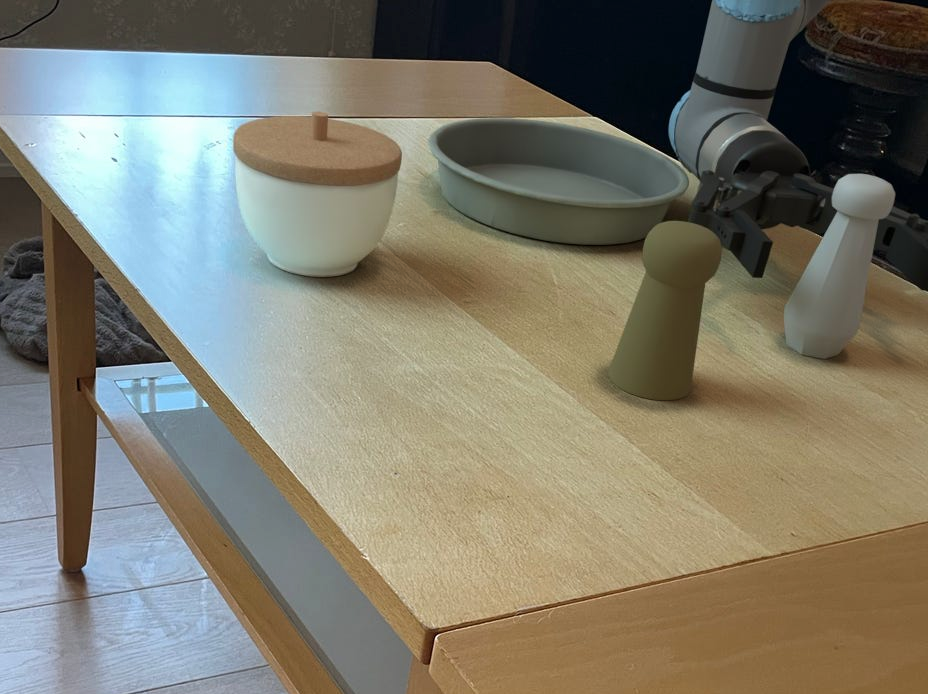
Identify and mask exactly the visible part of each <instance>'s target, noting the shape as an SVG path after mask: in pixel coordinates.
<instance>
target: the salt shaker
mask: <svg viewBox="0 0 928 694" xmlns="http://www.w3.org/2000/svg"><path fill="white" fill-rule="evenodd" d="M833 189H834V191H833V195H832V206H833V207H834V208H835V209H836V210H837V213H836V215H835V217H834V219H833V220H832V222H831V224H830V226H829V228H828V230H827V231H826V232H825V233H824V235H823V236H822V239H821V240H820V242H819V244H818V247H817V248H816V249H815V251H814V253H813V255H812V257H811V258H810V261H809V262H808V264H807V265H806V268H805V270H804V272H803V273H802V275H801V277H800V278H799V281H798V283H797V284H796V286H795V288H794V290H793V291H792V293H791V295H790V297H789V299H788V301H787V302H786V303H785V306H784V308H783V309H784V310H783V327H784V336H785V337H784V338H785V344H786V346H788V347H789V348H790V349H793V350H794V351H796V352H797V353H798V354H800V355H801V356H807V357H811V358H816V359H821V360H826V359H829V358H832V357H836V356H838V355H839V354H841V352H842V351H843V350H844V348H845V347H846V346H847V345H848V344H849V343H850V342H851V341H852V339H853V338H854V337H855V336H856V335H857V333H858V331H859V329H860V325H861V320H862V316H863V315H862V314H863V309H864V303H865V297H866V292H867V286H868V281H869V276H870V270H871V264H872V259H873V258H872V257H873V253H874V249H875V248H874V243H875V237H876V232H877V226H878V221H879V219H883V218H885V217H887V216H888V214H889V213H890V211H891V209H892V206H894V204H895V198H896V191H895V190H894V187H893V185H892V184H891V183H890V182H888V181H886V180H885V179H883V178H880V177H878V176H876V175H871V174H865V173H848V174H845V175H844V176H843V177H841V178H839V179H838V180H837V181H836V184H835V185H834V188H833Z"/></svg>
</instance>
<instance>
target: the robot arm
mask: <svg viewBox="0 0 928 694" xmlns="http://www.w3.org/2000/svg"><path fill="white" fill-rule="evenodd" d="M831 1H832V0H711V5H710V9H709V12H708V16H707V17H708V18H707V23H706V26H705V30H704V35H703V40H702V44H701V47H700V48H701V49H700V52H699V53H700V54H699V57H698V62H697V66H696V70H695V73H694V77H693V80H692V83H691V87H690V90H688V91H687V92H685V93H684V95H682V96H681V98H680V100H679V101H678V102H677V103H676V105H675V106H674V108H673V109H672V112H671V115H670V117H669V123H668V139H669V141H670V142H669V143H670V145H671V147H672V149H673V152H674V153H675V154H676V157H677V158H678V162H679V163H680V164H681V166H683V168H684V169H685V170H686V171H688V173H689V174H692V175H693V176H695V177H696V179H698V180H699V183H698V187H697V191H696V194H695V197H694V198H693V199H692V202H691V205H690V210H689V214H688V218H687V221H686V222H689V223H694V224H697V225H700V226H703V227H705V228H707V229H709V230H711V231H712V232H713V233H714V234H715V235H716V236H717V237H718V238H719V240H720V243H721V249H722V247H723V248H724V249H725V250H726V251H730V252H731V254H732V255H733V256H734V258H736V260H737V261H738V262H739V263H740V264H741V266H742V267H743V268H744V269H745V270H746V272H747V273H748V274H749V275H750V276H751V278H753V279H763V277H764V274H765V271H766V267H767V264H768V260H769V257H770V254H771V251H772V248H773V244H774V241H773V240H772V239H771V238H770V237H769V235H767V234H766V232H765V231H764V230H768V229H772V228H775V227H778V226H779V225H784V226H786V227H790V228H794V227H798V228H801V229H803V230H807V231H808V232H809V231H810V232H812V233H815V234H817V235H822V234H825V233H826V231H827V230H828V228H829V226H830V224H831V222H832V220H833V219H834V217H835V215H836V213H837V210H836V209H835V208H834V207H833V206H832V195H833V191H834V188H833V187H830V186H827V185H825V184H823V183H819V182H817V181H816V180H815V178H813V177H812V175H811V169H810V165H809V161H808V159H807V158H806V156H805V154H804V153H803V152H802V150H801V149H800V148H799V147H798V146H796V145H795V144H794V143H793V142H792V141H791V140H789V138H787V136H785V135H784V134H783V133H782V132H781V131H779V130H778V129H777V128H776V127H775V126H774V125H772V124H771V123H770V122H769V121H768V118H769V115H770V111H771V106H772V104H773V100H774V96H775V94H776V90H777V85H778V81H779V78H780V75H781V72H782V68H783V65H784V62H785V59H786V55H787V51H788V48H789V45H790V43H791V42H792V41H793V40H794V38H796V36H798V35H799V33H800V32H802V31H803V30H804V29H805V28H806V27H807V25H808V24H809V23H810V22H811V21H812V20H813V19H814V18H815V17H816V16H817V15H818V14H819V13H820V12H821V11H822V10H823V9H824V8H825V7H826V6H827V5H828V4H829V3H830V2H831ZM818 214H820V216H819V219H818V221H815V220H813V219H815V217H816V216H817V215H818ZM873 249H875V250H879V251H882V252H884V253H886V255H885V259H886V260H887V261H888V262H890V264H892V265H893V266H894V267H895V268H896V269H897V270H898V271H899V272H900V273H901V274H902V275H904V277H906V278H907V279H908V280H909V281H910V282H911V283H912V284H914V285H915V286H916V287H917V288H918V289H919V290H920V291H925V292H928V220H927V219H923V218H921V217H920V215H919V214H918V213H909V212H907V211H905V210H902V209H900V208H898V207H895V206H894V205H893V206H892V209H891V211H890V213H889V214H888V216H887V217H885V218H883V219H879V221H878V226H877V232H876V237H875V243H874V248H873Z"/></svg>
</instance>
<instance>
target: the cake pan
mask: <svg viewBox="0 0 928 694" xmlns="http://www.w3.org/2000/svg"><path fill="white" fill-rule="evenodd" d="M427 140H428V141H427V143H428V147H429V150H430V152H431V154H432V155H433V157H434V158H435V159H437V165H438V176H439V186H440V192H441V195H442V197H443V198H444V199H445V201H446V202H447V203H448V204H449V205H450V206H451V207H453V208H454V209H455V210H457V211H458V212H460V213H461V214H463V215H465V216H466V217H468V218H470V219H472V220H474V221H477V222H479V223H482V224H484V225H486V226H488V227H492V228H494V229H497V230H500V231H504V232H507V233H510V234H514V235H518V236H522V237H526V238H532V239H535V240H541V241H546V242H553V243H561V244H568V245H569V244H570V245H581V246H582V245H583V246H593V245H594V246H609V245H620V244H627V243H632V242H637V241H641V240H643V239H646V237H647V235H648V233H649V232H650V231H651V230H652V229H653V228H654V226H656V225H657V224H660V223H663V220H664V218H665V217H666V214H667V212H668V210H669V208H670V206H671V204H672V202H674V201H675V200H677V199H679V198H680V197H682V196H683V195H684V194H685V193H686V192H687V190H688V189H689V186H690V180H689V179H690V178H689V176H688V174H687V173H686V171H685V170H684V169H683V168H682V167H681V166H680V165H679V164H678V163H677V162H675V161H674V160H672V159H670V158H669V157H667V156H665V155H664V154H662V153H660V152H658V151H656V150H654V149H652V148H649V147H647V146H644V145H643V144H639V143H637V142H634V141H631V140H629V139H625V138H623V137H620V136H617V135H613V134H609V133H607V132H603V131H598V130H593V129H589V128H586V127H580V126H577V125H571V124H566V123H561V122H560V123H559V122H554V121H553V122H552V121H547V120H546V121H545V120H537V119H528V118H527V119H525V118H508V117H485V118H484V117H483V118H481V117H480V118H470V119H464V120H463V119H462V120H458V121H454V122H450V123H447V124H444V125H442V126H440V127H438V128H436V129H435V130H434V131H432V133H431V134H430V136H429V138H428V139H427Z"/></svg>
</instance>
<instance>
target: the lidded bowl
mask: <svg viewBox="0 0 928 694" xmlns="http://www.w3.org/2000/svg"><path fill="white" fill-rule="evenodd" d="M232 142H233V144H232V145H233V146H232V147H233V148H232V149H233V152H234V176H235V177H234V179H235V180H234V181H235V189H236V190H235V191H236V197H237V203H238V207H239V212H240V214H241V217H242V221H243V222H244V225H245V228H246V229H247V232H248V233H249V235H250V236H251V238H252V240H254V242H255V243H256V244H257V245H258V247H259V248H260V249H261V250H262V251H263V252H264V253H265V254H266V255H267V256H266V257H267V260H268V261H269V263H271V264H272V265H273V266H275V267H276V268H278V269H280V270H283V271H286V272H288V273H291V274H295V275H300V276H304V277H305V276H306V277H313V278H327V277H328V278H329V277H339V276H342V275H347V274H349V273H351V272H353V271H354V270H355V269H356V268H357V267H358V263H360V261H362V260H363V259H365V258H367V256H368V255H369V254H371V252H373V251H374V250H375V248H376V247H377V245H378V244H379V243H380V241H381V240H382V239H383V237H384V235H385V233H386V231H387V229H388V226H389V223H390V220H391V218H392V214H393V211H394V210H393V209H394V206H395V201H396V196H397V190H398V189H397V188H398V182H399V181H398V180H399V171H400V170H401V166H402V160H403V151H402V149H401V147H400V146H399V144H398V143H397V142H396V141H395V140H393V139H392V138H390V137H389V136H388V135H386V134H384V133H381V132H379V131H377V130H374V129H372V128H369V127H367V126H363V125H360V124H356V123H353V122H348V121H343V120H338V119H334V118H333V119H332V118H329V113H328V112H325V111H312V112H311V116H306V115H305V116H304V115H281V116H269V117H263V118H257V119H254V120H250V121H247V122H245V123H242V124H241V125H240V126H238V127H237V128H236V129H235V130H234V133H233V137H232Z"/></svg>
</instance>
